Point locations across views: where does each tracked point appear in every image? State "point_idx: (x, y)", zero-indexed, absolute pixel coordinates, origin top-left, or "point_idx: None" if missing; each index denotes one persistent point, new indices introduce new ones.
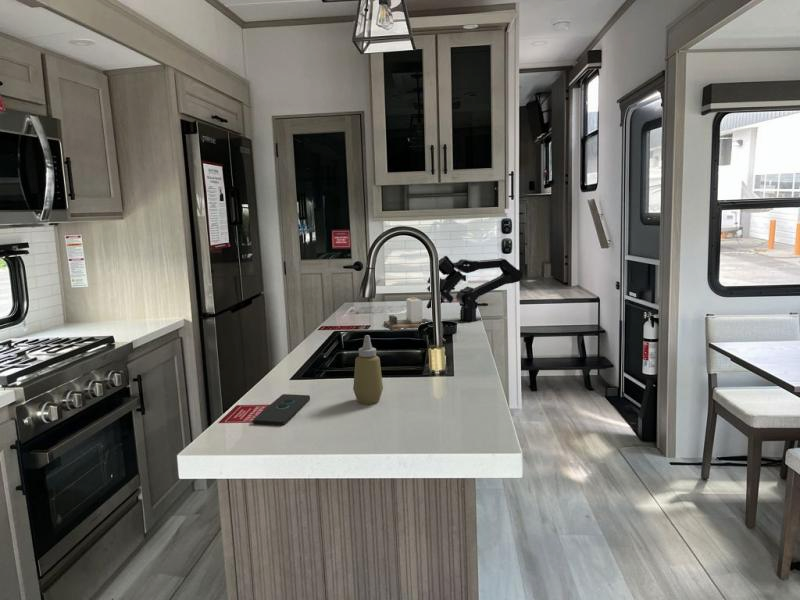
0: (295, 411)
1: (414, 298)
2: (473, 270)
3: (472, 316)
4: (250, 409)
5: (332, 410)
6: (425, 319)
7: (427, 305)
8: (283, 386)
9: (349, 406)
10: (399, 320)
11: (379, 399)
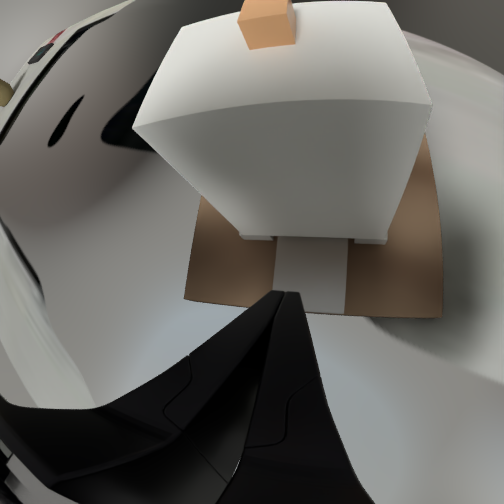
0: (31, 62)
1: (243, 29)
2: None
3: None
4: (56, 37)
5: (19, 81)
6: (306, 293)
7: (278, 303)
8: (69, 33)
9: (14, 89)
10: None
11: (2, 106)
